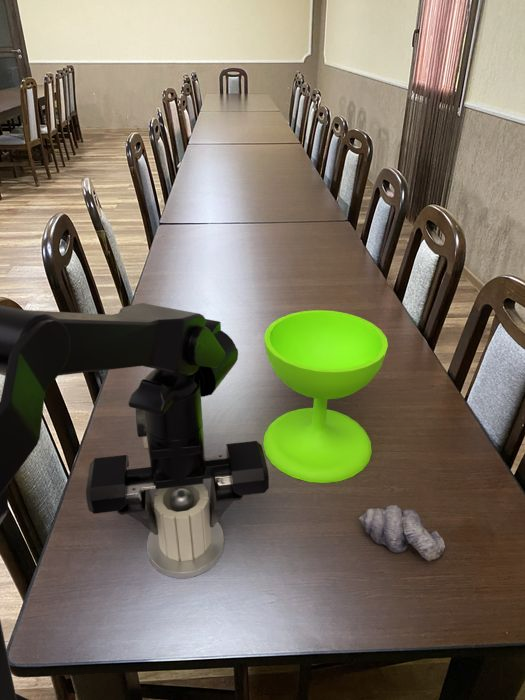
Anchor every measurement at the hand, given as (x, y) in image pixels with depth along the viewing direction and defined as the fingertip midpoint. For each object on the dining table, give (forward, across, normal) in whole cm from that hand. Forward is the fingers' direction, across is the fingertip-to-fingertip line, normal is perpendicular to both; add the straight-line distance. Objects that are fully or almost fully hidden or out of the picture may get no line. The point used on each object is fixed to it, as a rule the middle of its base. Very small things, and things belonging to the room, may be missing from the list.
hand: (184, 527), depth 62 cm
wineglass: (+3, -20, -15) cm, 25 cm away
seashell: (+3, -25, +4) cm, 26 cm away
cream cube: (+3, +4, -19) cm, 20 cm away
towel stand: (+3, 0, 0) cm, 3 cm away
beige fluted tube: (+2, 0, 0) cm, 2 cm away
